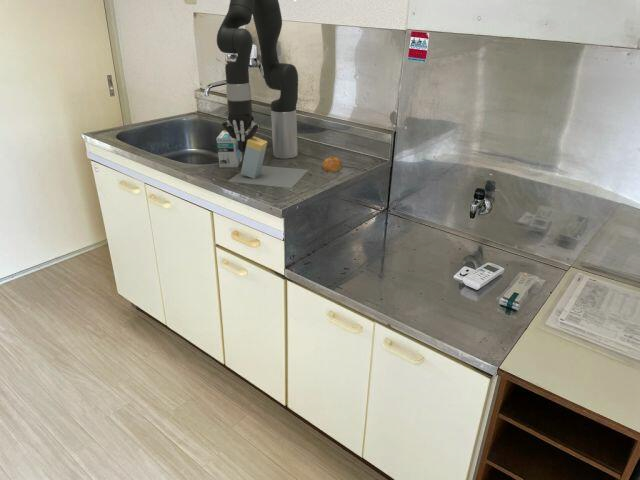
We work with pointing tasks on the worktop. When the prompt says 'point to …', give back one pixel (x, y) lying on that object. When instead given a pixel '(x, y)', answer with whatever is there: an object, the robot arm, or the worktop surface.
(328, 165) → the pastry
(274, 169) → the mat
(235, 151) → the light bulb box
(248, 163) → the block
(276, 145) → the robot arm
